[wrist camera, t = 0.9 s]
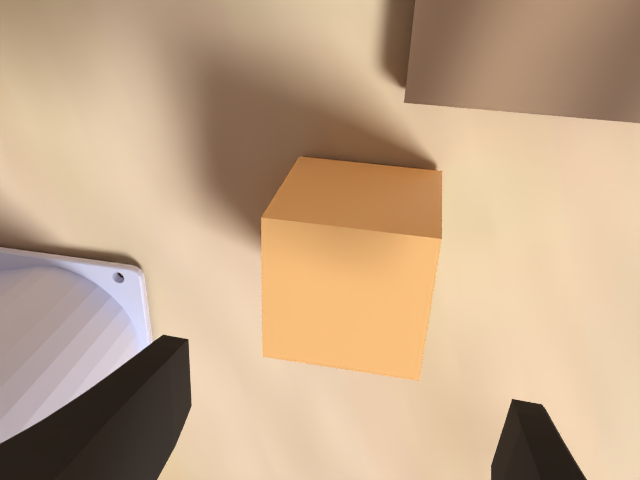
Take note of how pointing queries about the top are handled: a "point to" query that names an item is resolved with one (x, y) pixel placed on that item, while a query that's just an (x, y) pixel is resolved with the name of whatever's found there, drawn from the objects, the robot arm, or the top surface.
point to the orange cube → (351, 265)
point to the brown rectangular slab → (528, 57)
